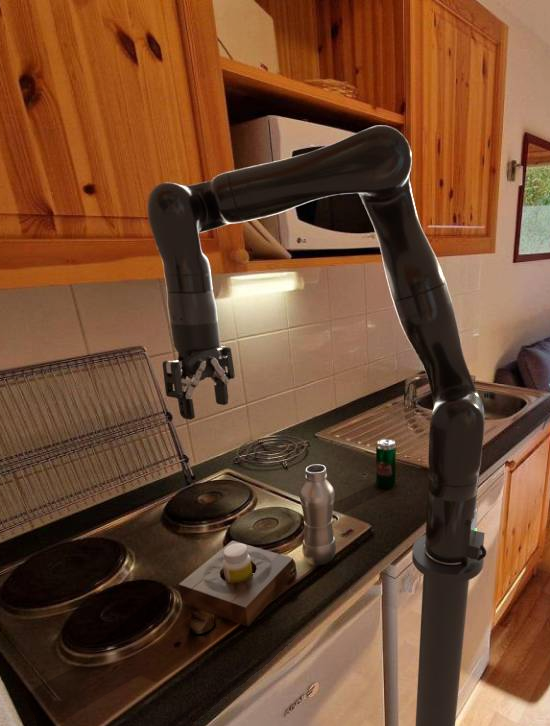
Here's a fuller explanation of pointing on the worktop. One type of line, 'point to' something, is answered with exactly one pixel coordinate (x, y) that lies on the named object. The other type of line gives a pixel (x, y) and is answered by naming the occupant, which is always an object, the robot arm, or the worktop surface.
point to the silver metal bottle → (317, 516)
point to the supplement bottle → (237, 563)
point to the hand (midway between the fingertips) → (206, 410)
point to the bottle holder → (237, 585)
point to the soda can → (386, 463)
